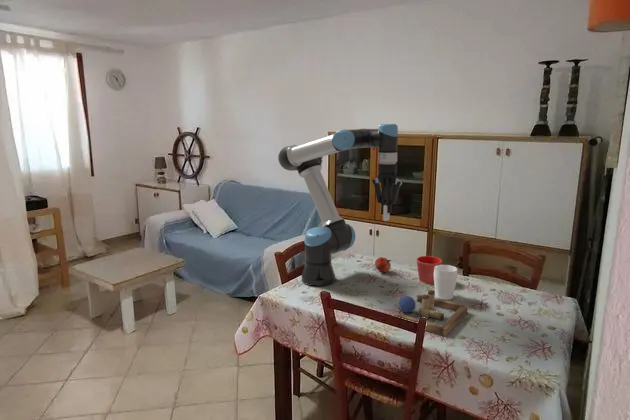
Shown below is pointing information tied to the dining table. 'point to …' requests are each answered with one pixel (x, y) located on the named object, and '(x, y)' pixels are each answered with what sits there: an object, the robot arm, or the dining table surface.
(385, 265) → the pomegranate
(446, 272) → the cup
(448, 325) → the tray
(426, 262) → the flower pot
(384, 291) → the dining table surface
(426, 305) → the pin
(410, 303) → the ball
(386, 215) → the robot arm
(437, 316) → the pin front
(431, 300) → the pin
